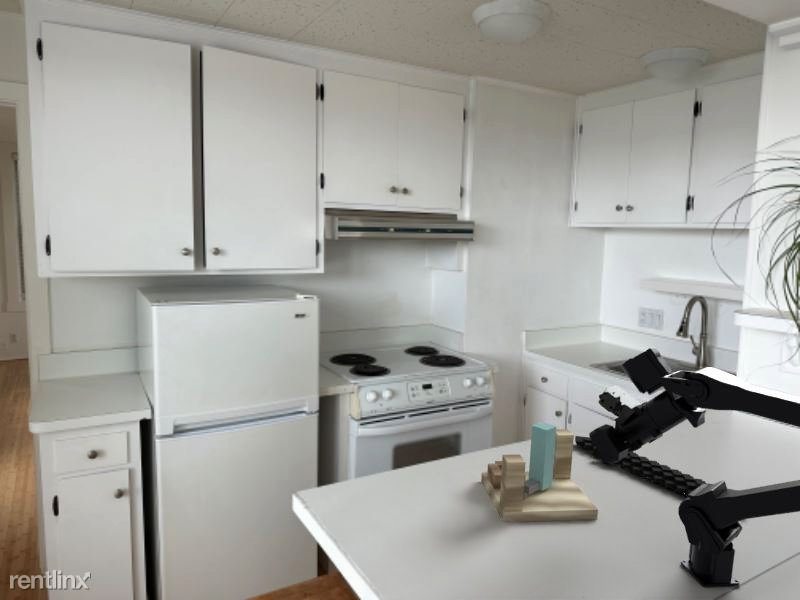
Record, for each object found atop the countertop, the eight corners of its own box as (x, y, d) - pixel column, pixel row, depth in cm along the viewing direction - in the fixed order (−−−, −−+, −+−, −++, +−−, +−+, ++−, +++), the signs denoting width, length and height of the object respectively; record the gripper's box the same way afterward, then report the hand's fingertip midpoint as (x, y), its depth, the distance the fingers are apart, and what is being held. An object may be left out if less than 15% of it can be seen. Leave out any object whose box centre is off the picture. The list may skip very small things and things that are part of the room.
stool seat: (597, 519, 109) (602, 461, 108) (503, 521, 107) (506, 463, 106) (563, 479, 126) (566, 428, 124) (481, 481, 124) (484, 429, 122)
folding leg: (531, 496, 112) (535, 434, 110) (517, 490, 114) (520, 429, 113) (551, 485, 117) (556, 426, 115) (537, 479, 119) (541, 421, 118)
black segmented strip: (587, 440, 150) (588, 427, 149) (744, 506, 117) (746, 489, 116) (561, 449, 144) (562, 434, 143) (718, 520, 111) (720, 502, 111)
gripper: (652, 368, 107) (594, 408, 117) (604, 385, 94) (544, 428, 104) (691, 419, 102) (627, 456, 112) (646, 444, 90) (579, 483, 99)
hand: (595, 454), depth 107 cm, fingers closed
